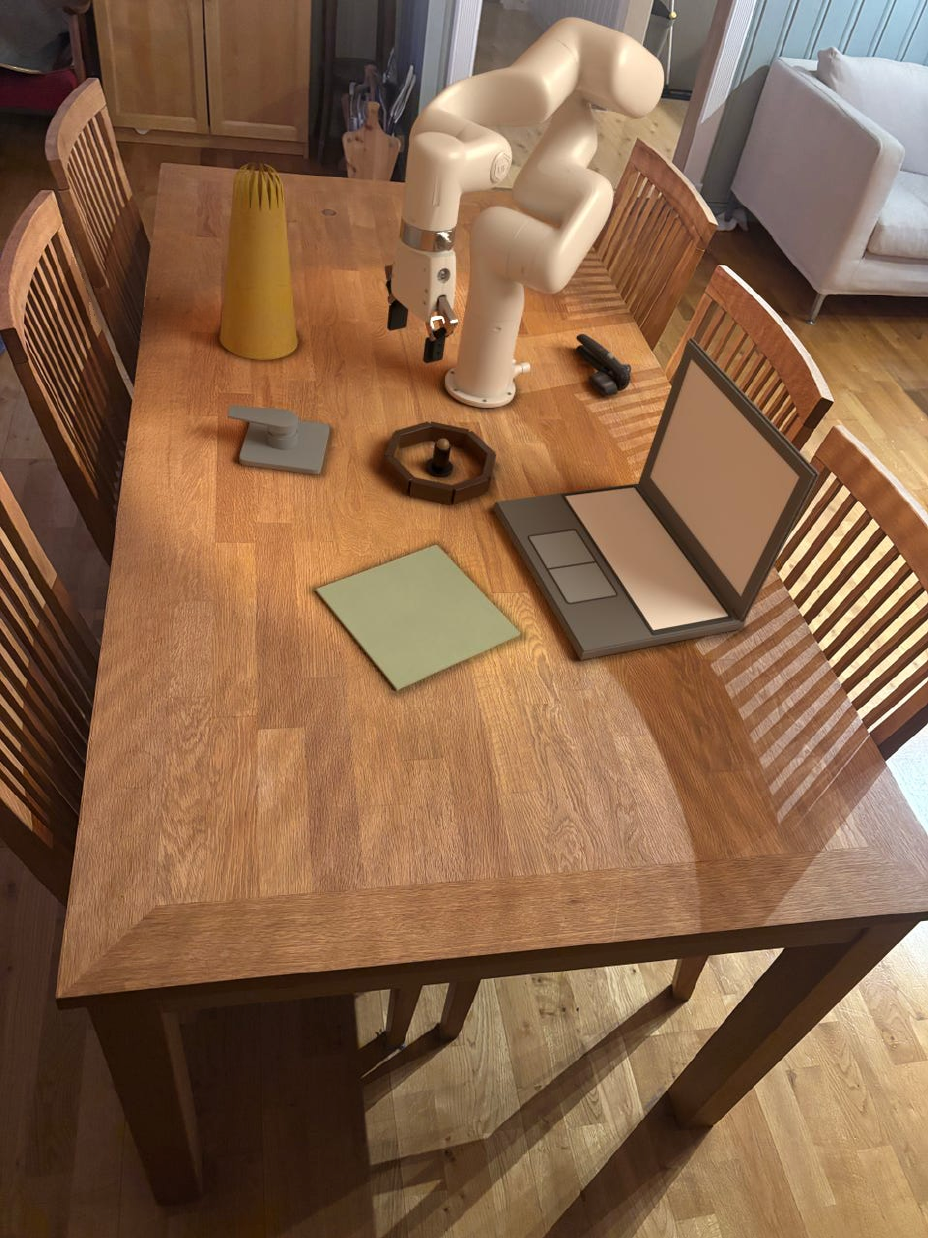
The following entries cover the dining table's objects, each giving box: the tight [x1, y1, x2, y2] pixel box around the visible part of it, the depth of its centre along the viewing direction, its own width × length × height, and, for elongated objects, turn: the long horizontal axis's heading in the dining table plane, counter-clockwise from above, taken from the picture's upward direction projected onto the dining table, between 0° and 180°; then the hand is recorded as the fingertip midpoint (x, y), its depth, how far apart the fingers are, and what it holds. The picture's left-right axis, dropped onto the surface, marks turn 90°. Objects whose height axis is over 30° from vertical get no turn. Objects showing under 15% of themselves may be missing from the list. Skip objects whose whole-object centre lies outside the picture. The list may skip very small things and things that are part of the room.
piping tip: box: [219, 162, 299, 361], centre depth 162 cm, size 14×14×30 cm
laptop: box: [492, 337, 821, 661], centre depth 133 cm, size 32×26×28 cm
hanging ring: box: [383, 420, 497, 506], centre depth 153 cm, size 17×17×3 cm
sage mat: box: [315, 544, 521, 691], centre depth 131 cm, size 20×20×1 cm
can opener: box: [575, 333, 632, 397], centre depth 179 cm, size 18×7×6 cm, turn 20°
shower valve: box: [227, 405, 330, 475], centre depth 150 cm, size 12×6×15 cm
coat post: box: [425, 439, 454, 478], centre depth 152 cm, size 4×4×6 cm
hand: (414, 344), depth 145 cm, fingers open, 9 cm apart
